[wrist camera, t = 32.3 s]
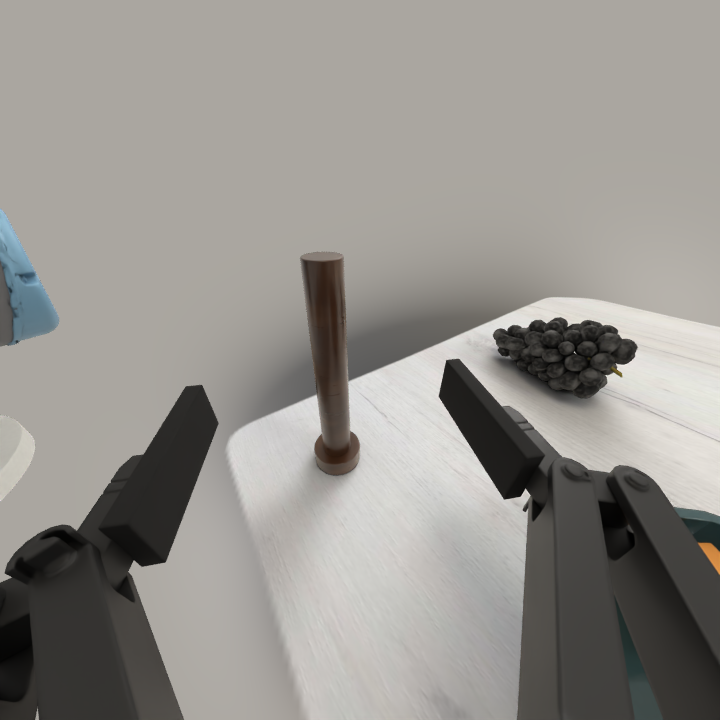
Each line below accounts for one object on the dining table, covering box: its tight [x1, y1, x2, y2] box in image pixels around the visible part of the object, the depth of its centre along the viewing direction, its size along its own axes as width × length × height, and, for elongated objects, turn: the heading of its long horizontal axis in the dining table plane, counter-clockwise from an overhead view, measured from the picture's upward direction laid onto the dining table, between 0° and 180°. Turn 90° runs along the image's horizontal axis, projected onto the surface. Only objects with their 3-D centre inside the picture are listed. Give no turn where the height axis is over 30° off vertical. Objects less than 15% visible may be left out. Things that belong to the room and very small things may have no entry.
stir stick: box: [300, 252, 360, 475], centre depth 19 cm, size 4×4×18 cm
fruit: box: [493, 317, 638, 398], centre depth 33 cm, size 9×8×15 cm
